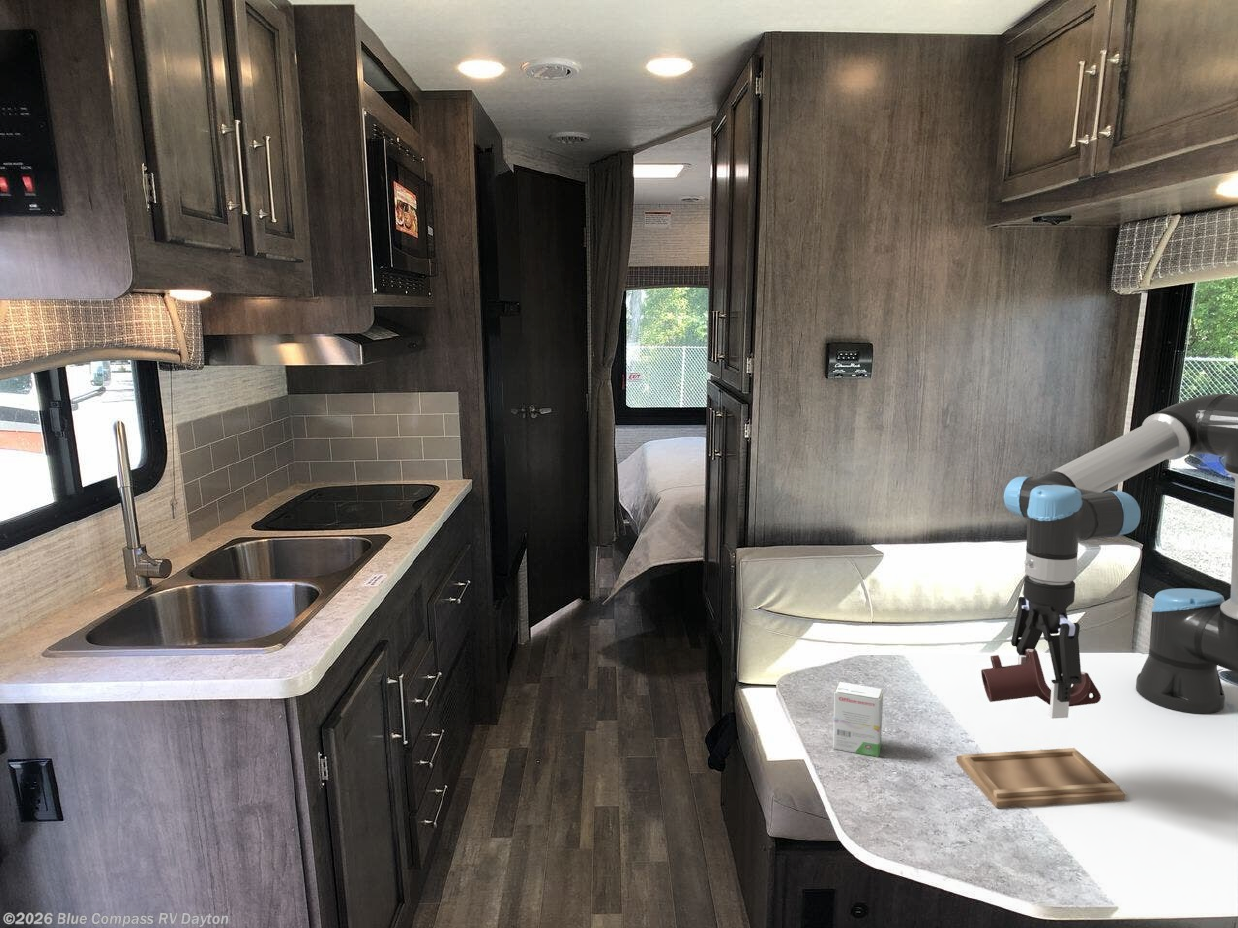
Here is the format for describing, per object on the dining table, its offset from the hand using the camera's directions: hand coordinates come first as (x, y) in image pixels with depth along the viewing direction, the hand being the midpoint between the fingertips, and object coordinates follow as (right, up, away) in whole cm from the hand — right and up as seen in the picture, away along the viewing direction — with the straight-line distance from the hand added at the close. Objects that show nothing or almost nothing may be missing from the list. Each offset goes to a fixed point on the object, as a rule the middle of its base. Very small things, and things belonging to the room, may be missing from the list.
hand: (1041, 702), depth 134 cm
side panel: (+1, -14, +3) cm, 15 cm away
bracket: (0, 0, +1) cm, 1 cm away
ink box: (-27, -13, +15) cm, 34 cm away
